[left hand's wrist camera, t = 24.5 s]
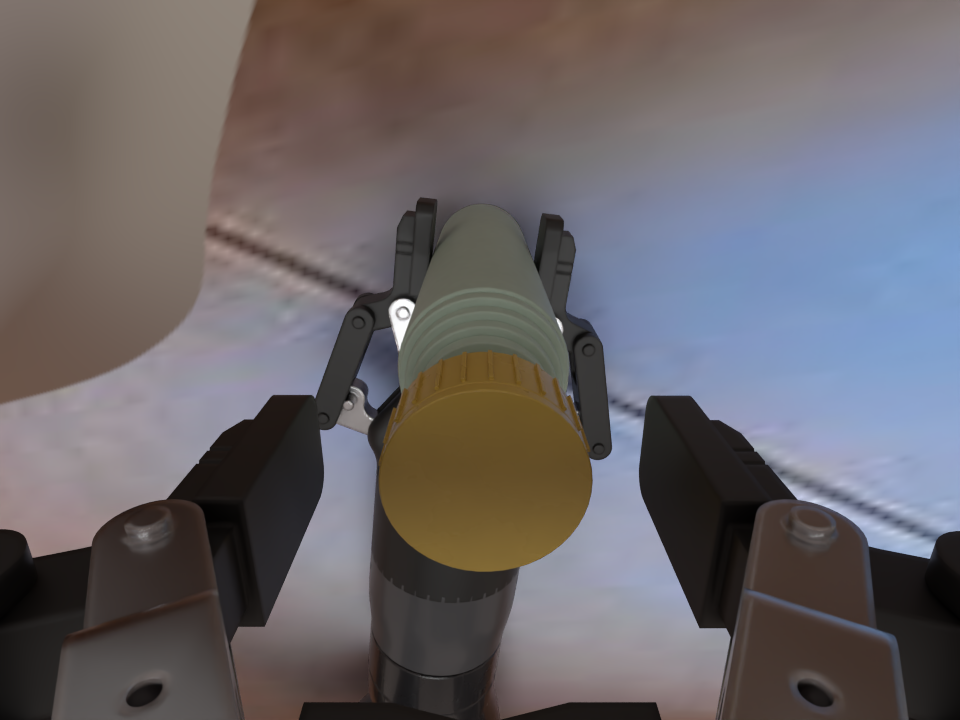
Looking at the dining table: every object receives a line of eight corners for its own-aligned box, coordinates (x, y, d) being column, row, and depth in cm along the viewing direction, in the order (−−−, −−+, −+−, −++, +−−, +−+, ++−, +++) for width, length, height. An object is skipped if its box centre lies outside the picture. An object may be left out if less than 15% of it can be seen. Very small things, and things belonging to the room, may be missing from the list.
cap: (614, 461, 12) (635, 513, 11) (458, 544, 13) (455, 606, 11) (514, 310, 11) (521, 343, 9) (351, 412, 12) (329, 459, 10)
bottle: (539, 227, 30) (650, 416, 11) (500, 303, 32) (534, 591, 12) (461, 188, 29) (424, 313, 10) (424, 267, 31) (330, 511, 11)
